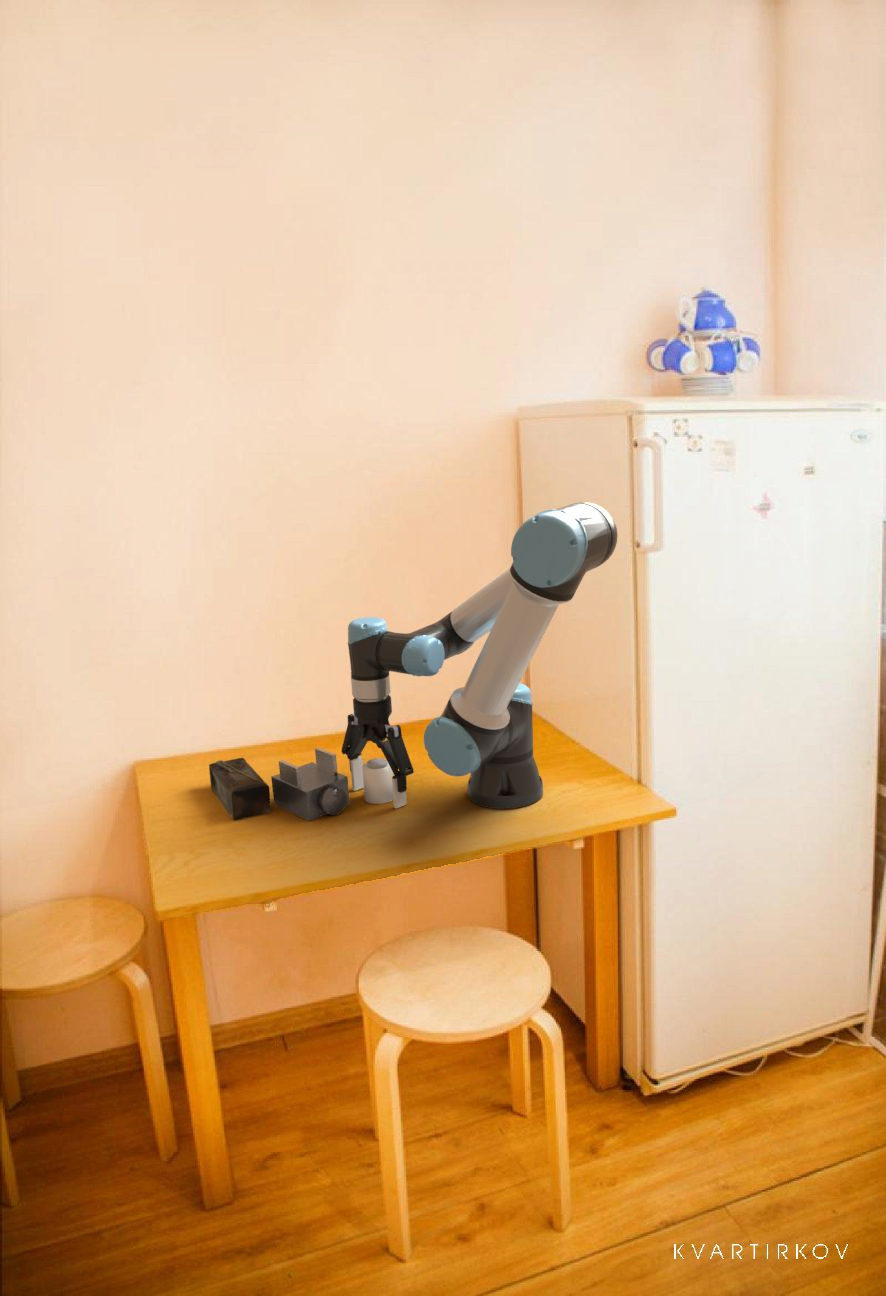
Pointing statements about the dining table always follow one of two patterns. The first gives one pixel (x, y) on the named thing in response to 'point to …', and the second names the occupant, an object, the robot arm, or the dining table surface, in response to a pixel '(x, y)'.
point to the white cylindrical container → (377, 781)
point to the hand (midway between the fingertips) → (379, 797)
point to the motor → (311, 787)
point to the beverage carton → (239, 788)
